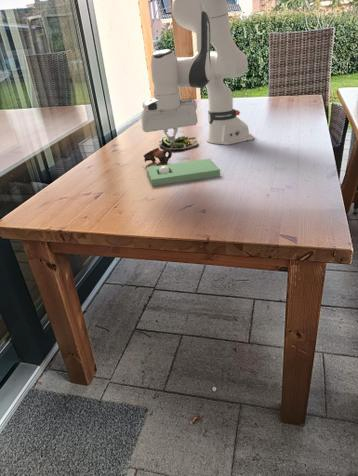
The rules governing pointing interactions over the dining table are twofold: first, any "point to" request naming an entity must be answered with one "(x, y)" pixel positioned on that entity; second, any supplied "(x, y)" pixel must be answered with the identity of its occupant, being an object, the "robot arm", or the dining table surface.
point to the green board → (183, 172)
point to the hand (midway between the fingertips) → (171, 140)
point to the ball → (163, 170)
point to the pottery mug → (158, 156)
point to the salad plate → (177, 143)
